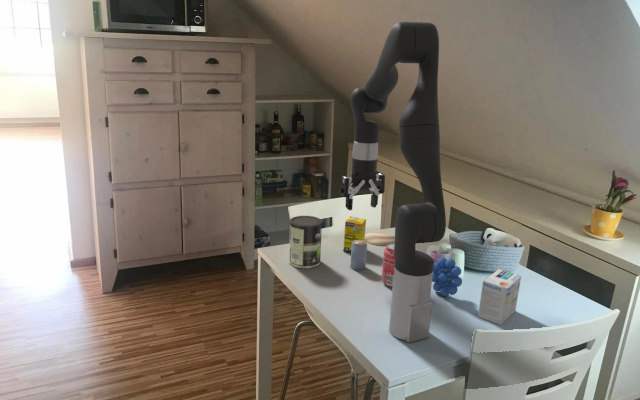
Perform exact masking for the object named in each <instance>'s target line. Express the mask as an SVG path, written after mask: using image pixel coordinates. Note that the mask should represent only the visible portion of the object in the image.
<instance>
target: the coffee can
mask: <svg viewBox="0 0 640 400" xmlns="http://www.w3.org/2000/svg"><path fill="white" fill-rule="evenodd" d="M322 227H323V220H322V219H321V218H320V217H317V216H313V215H297V216H293V217H291V218H290V219H289V252H288V253H289V255H288V258H289V259H288V263H289V265H291V266H293V267H295V268H299V269H312V268H313V269H314V268H316V267H318V266H319V265H321V262H322V261H321V256H322V255H321V253H322Z"/></svg>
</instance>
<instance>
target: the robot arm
mask: <svg viewBox="0 0 640 400" xmlns="http://www.w3.org/2000/svg"><path fill="white" fill-rule="evenodd" d="M438 31H439V30H438V28H437V26H436V25H435V24H434V23H432V22H422V21H399V22H396V23H395V24H394V25H393V26H392V27H391V29H390V31H389V33H388V34H387V36H386V39H385V42H384V45H383V47H382V50H381V53H380V56H379V58H378V60H377V61H378V62H377V64H376V66H375V69H374V71H373V72H372V73H371V74H370V76H369V78H368V79H367V81H366V83H365V86H364V87H357V88H354V90H353V91H352V92H351V95H350V101H349V102H350V106H351V111H352V116H353V122H354V138H353V139H354V140H353V147H352V153H351V154H352V155H351V175H350V176H345V175H342V176H341V183H340V191H339V195H340V196H342V197H344V198H345V208H346V210H348V211H352V210H353V204H354V203H353V202H354V198H353V197H354V196H355V195H356V194H357V193H359V191H364V190H366V191H367V190H370V192H371V194H370V207H372V208H377V206H378V204H379V195H380V194H384V193H385V191H386V190H385V188H386V187H385V186H386V185H385V183H386V176H385V174H383V173H381V172H378V173H376V172H377V171H378V170H377V169H378V157H379V142H378V141H379V134H380V133H379V131H380V127H379V125H380V124H379V123H378V122H376V121H374V120H369V119H366V116H364V115H365V114H372V113H373V114H379V113H382V112H384V111H385V110H386V108H387V105H388V99H389V95H391V93H392V91H393V90H394V89H395V88H396V86H397V84H398V81H399V71H398V68H397V66H396V65H397V64H398V63H401V64H418V78H417V83H416V85H415V88H414V91H413V93H412V94H411V96H410V97H409V99H408V101H407V103H406V105H405V107H404V108H403V110H402V112H401V115H400V117H399V121H398V122H399V123H398V127H399V130H398V131H399V147H400V148H399V149H400V151H401V153H402V155H403V157H404V159H405V161H406V162H407V164H408V165H409V167H410V168H411V170H412V171H413V173H414V174H415V176H416V179H418V181H419V184H420V187H421V192H422V199H423V203H411V204H410V203H409V204H402V205H400V207H399V208H397V211H396V216H395V220H394V221H395V223H394V236H395V246H394V254H395V267H394V278H393V287H391V289H392V291H391V300H390V312H389V322H388V323H389V326H388V330H389V333H390V334H391V335H392V336H393V337H394V338H396V339H398V340H402V341H405V342H407V343H414V342H416V341H417V342H418V341H421V340H425V339H428V338H429V334H430V325H431V318H432V317H431V316H432V308H433V303H432V302H431V295H432V294H431V293H432V286H433V284H432V283H433V282H432V277H433V268H434V263H435V261H434V259H433V257H432V256H431V255H429V254H428V253H425V252H424V251H421V250H417V249H416V245H417V244H424V243H426V244H427V243H436V242H441V241H442V239H443V238H444V237H445V233H446V228H447V217H446V207H445V199H444V191H443V183H442V174H441V170H442V169H441V150H440V147H441V143H440V142H441V139H440V137H441V136H440V119H439V99H438V97H439V95H438V94H439V93H438V92H439V91H438V89H439V88H438V85H439V84H438V83H439V82H438V78H439V77H438V76H439V56H440V55H439V54H440V53H439V52H440V39H439V38H440V37H439V32H438ZM375 182H376V184H375Z"/></svg>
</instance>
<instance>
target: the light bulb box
mask: <svg viewBox="0 0 640 400" xmlns="http://www.w3.org/2000/svg"><path fill="white" fill-rule="evenodd" d="M521 281H522V275H520V274H517V273H513V272H512V271H511V272H510V271H507V270H504V269H501V268H497V269H496V270H495V271H494V272H493V273H492V274H490V275H489V276H488V277H487V278H485V279H484V280H483V281H482V285H481V286H482V287H481V292H480V299H479V300H480V301H479V306H478V307H479V308H478V315H477V316H478V318H481V319H483V320H486V321H489V322H492V323H495V324H497V325H500V326H502V325H503V323H504V322H505V321H506V320H508V319H509V318H510V317H511V315H513V313H515V312H516V310H517V309H516V308H517V304H518V300H519V299H518V297H519V292H520V287H521Z"/></svg>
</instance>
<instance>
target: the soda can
mask: <svg viewBox="0 0 640 400" xmlns="http://www.w3.org/2000/svg"><path fill="white" fill-rule="evenodd" d="M394 246H395V243H389V244H387V246H386V247H385V249H384V251H383V261H382V269H381V271H382V273H381V280H382V284H384V285H386V287H390V288H393V278H394V267H395V254H394Z"/></svg>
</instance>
